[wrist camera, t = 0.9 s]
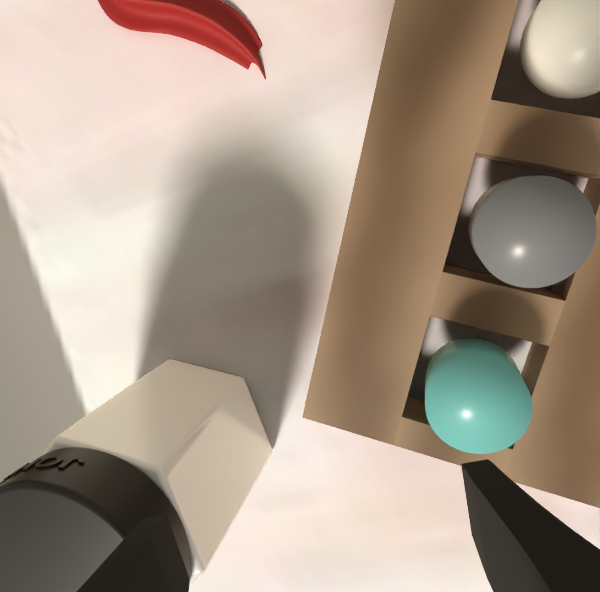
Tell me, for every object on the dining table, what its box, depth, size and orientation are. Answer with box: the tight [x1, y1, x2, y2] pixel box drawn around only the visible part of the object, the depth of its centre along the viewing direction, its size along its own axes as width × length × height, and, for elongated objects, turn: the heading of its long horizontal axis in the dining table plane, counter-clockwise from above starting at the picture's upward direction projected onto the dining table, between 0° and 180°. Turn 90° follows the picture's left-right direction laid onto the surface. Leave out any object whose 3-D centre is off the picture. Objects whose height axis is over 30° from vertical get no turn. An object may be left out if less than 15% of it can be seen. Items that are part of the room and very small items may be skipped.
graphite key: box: [468, 176, 596, 288], centre depth 19 cm, size 4×4×3 cm
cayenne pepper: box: [98, 0, 266, 79], centre depth 24 cm, size 12×5×2 cm, turn 46°
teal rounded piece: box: [425, 338, 533, 454], centre depth 21 cm, size 4×4×3 cm
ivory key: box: [520, 0, 600, 99], centre depth 17 cm, size 4×4×3 cm
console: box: [303, 0, 600, 508], centre depth 21 cm, size 14×22×2 cm, turn 168°
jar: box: [0, 359, 272, 592], centre depth 23 cm, size 9×8×12 cm
